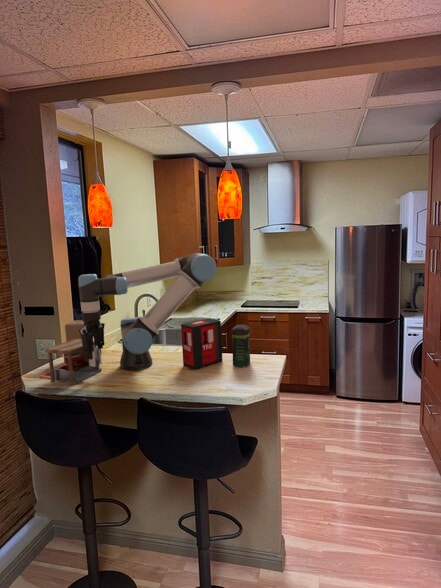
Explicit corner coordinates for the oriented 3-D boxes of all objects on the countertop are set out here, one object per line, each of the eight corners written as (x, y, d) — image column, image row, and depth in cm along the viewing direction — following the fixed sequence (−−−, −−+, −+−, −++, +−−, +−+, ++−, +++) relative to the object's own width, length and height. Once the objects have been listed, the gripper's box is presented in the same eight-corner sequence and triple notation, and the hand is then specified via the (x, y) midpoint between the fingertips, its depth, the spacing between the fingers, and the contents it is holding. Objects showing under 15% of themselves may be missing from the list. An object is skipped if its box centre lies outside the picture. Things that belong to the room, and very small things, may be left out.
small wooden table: (49, 382, 172) (45, 348, 169) (77, 369, 187) (74, 338, 185) (72, 386, 166) (69, 351, 164) (99, 372, 182) (97, 340, 180)
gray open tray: (54, 380, 174) (51, 346, 171) (74, 371, 184) (71, 339, 182) (91, 385, 166) (87, 350, 163) (109, 375, 176) (106, 342, 174)
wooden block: (95, 357, 205) (92, 319, 202) (87, 363, 195) (83, 324, 192) (76, 357, 206) (73, 320, 203) (67, 364, 196) (63, 324, 193)
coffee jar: (248, 368, 179) (247, 328, 176) (231, 367, 181) (229, 328, 178) (251, 361, 188) (250, 323, 185) (235, 361, 190) (233, 323, 187)
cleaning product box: (210, 357, 197) (208, 318, 194) (222, 361, 190) (220, 320, 187) (183, 366, 186) (181, 324, 183) (195, 370, 179) (192, 327, 176)
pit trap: (74, 371, 185) (73, 369, 185) (55, 379, 175) (55, 378, 175) (57, 369, 189) (57, 367, 188) (38, 377, 179) (38, 375, 179)
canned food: (70, 374, 181) (67, 351, 179) (87, 374, 180) (85, 350, 179) (62, 380, 173) (60, 356, 171) (81, 380, 173) (78, 355, 171)
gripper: (96, 307, 176) (101, 358, 180) (69, 314, 162) (75, 370, 165) (110, 307, 173) (114, 359, 177) (84, 315, 159) (89, 371, 162)
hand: (95, 364), depth 171 cm, fingers closed on gray open tray, 3 cm apart
